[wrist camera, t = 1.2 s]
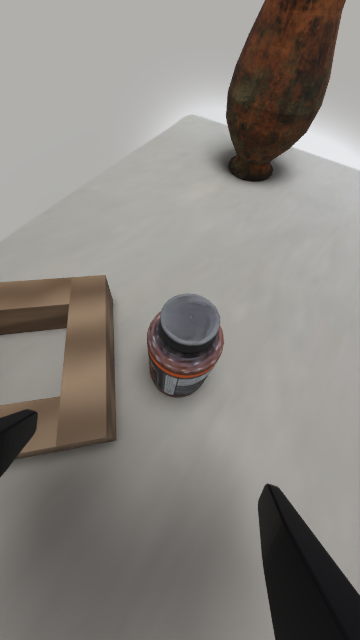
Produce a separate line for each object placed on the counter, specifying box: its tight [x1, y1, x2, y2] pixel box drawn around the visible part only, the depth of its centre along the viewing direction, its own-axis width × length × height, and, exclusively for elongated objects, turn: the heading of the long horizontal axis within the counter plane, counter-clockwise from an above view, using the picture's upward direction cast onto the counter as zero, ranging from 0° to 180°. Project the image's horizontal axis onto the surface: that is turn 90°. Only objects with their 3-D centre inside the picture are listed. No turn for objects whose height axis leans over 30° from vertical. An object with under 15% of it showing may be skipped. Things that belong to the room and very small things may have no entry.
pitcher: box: [226, 0, 346, 181], centre depth 38 cm, size 17×21×30 cm
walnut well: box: [0, 275, 116, 459], centre depth 21 cm, size 16×16×4 cm
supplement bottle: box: [147, 294, 224, 397], centre depth 19 cm, size 6×6×11 cm
